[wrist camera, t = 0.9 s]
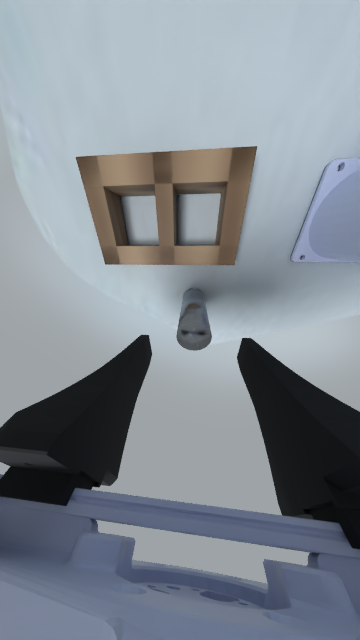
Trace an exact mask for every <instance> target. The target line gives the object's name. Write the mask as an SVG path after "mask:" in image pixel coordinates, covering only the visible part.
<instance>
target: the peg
mask: <svg viewBox="0 0 360 640" xmlns="http://www.w3.org/2000/svg"><path fill="white" fill-rule="evenodd" d="M211 338H212V335H211V330H210V325H209V320H208V315H207V310H206V305H205V300H204V296H203V293H202V292H201V291H200V290H198V289H189V290H187V291H186V292H185V293H184V296H183V301H182V307H181V313H180V319H179V325H178V331H177V341H178V343H179V344H180V345H181V346H182V347H184V348H186V349H188V350H200V349H203V348H205V347H206V346H207V345H209V343H210V342H211Z"/></svg>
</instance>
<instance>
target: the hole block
mask: <svg viewBox="0 0 360 640" xmlns="http://www.w3.org/2000/svg"><path fill="white" fill-rule="evenodd" d="M256 150H257V146H254V147H237V148H220V149H203V150H186V151H169V152H152V153H135V154H118V155H100V156H83V157H76V160H77V163H78V167H79V171H80V174H81V178H82V181H83V185H84V189H85V192H86V196H87V200H88V203H89V207H90V210H91V214H92V218H93V221H94V225H95V228H96V232H97V236H98V239H99V243H100V246H101V250H102V254H103V257H104V261H105V264H142V265H235V260H236V254H237V249H238V244H239V239H240V234H241V228H242V223H243V218H244V213H245V208H246V202H247V197H248V192H249V187H250V182H251V176H252V171H253V166H254V161H255V155H256ZM206 193H221V199H220V207H219V216H218V225H217V234H216V243H215V245H177V210H176V195H177V194H206ZM148 195H155V196H156V209H157V222H158V235H159V245H128V239H127V234H126V228H125V223H124V217H123V212H122V206H121V201H120V196H148Z"/></svg>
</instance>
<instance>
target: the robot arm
mask: <svg viewBox="0 0 360 640" xmlns="http://www.w3.org/2000/svg"><path fill="white" fill-rule="evenodd" d="M339 165H340V170H339V171H337V168H338V166H339ZM301 255H303V257H302V258H301V259H300V256H301ZM291 261H293V262H360V158H346V159H336V160H334V161H332V162H330V163H329V164H328V165H327V166H326V168H325V170H324V173H323V176H322V178H321V181H320V183H319V186H318V189H317V191H316V194H315V196H314V199H313V202H312V204H311V207H310V209H309V212H308V214H307V217H306V220H305V222H304V225H303V227H302V230H301V233H300V235H299V238H298V240H297V243H296V245H295V248H294V251H293V253H292V256H291ZM151 356H152V351H151V345H150V340H149V335H141V336H139V337H138V338H137V339H136V340H135V341H134V342H132V343H131V344H130V345H129V346H128V347H127V348H125V349H124V350H123V351H122V352H121V353H119V354H118V355H117V356H116V357H114V358H113V359H112V360H110V361H109V362H108V363H106V364H105V365H104V366H102V367H101V368H100V369H98V370H96V371H95V372H93V373H92V374H90V375H88V376H87V377H85V378H83V379H82V380H80V381H78V382H77V383H75V384H73V385H71V386H70V387H68V388H66V389H64V390H62V391H60V392H58V393H56V394H55V395H52V396H50V397H48V398H46V399H44V400H42V401H40V402H38V403H36V404H33V405H31V406H29V407H27V408H25V409H23V410H20V411H18V412H16V413H15V414H14V415H13V416H12V417H11V418H10V419H9V420H8V421H7V422H6V423H5V424H4V425H3V426H2V427H1V428H0V462H2V463H4V464H6V465H9V466H11V467H10V468H9V469H8V471H7V472H6V473H5V474H4V475H1V474H0V640H360V412H359V411H357V410H355V409H353V408H351V407H350V406H348V405H346V404H345V403H343V402H341V401H339V400H338V399H336V398H334V397H332V396H331V395H329V394H327V393H326V392H324V391H322V390H321V389H319V388H317V387H316V386H314V385H312V384H311V383H310V382H308V381H306V380H305V379H303V378H302V377H300V376H299V375H298V374H296V373H295V372H293V371H292V370H290V369H289V368H288V367H286V366H285V365H284V364H282V363H281V362H280V361H278V360H277V359H276V358H275V357H273V356H272V355H271V354H270V353H268V352H267V351H266V350H265V349H264V348H262V347H261V346H260V345H259V344H258V343H256V342H255V341H254V340H252V339H251V338H242V341H241V345H240V349H239V353H238V356H237V360H238V364H239V368H240V371H241V374H242V376H243V379H244V382H245V384H246V387H247V389H248V391H249V394H250V397H251V399H252V402H253V405H254V407H255V411H256V414H257V417H258V421H259V424H260V428H261V432H262V436H263V439H264V443H265V446H266V451H267V455H268V459H269V463H270V468H271V472H272V477H273V481H274V486H275V490H276V495H277V500H278V504H279V507H280V510H281V513H282V515H274V514H267V513H258V512H252V511H244V510H237V509H229V508H222V507H214V506H207V505H199V504H192V503H184V502H177V501H170V500H161V499H154V498H147V497H140V496H132V495H125V494H117V493H110V492H102V491H95V490H91V489H92V487H100V485H107V486H110V485H112V484H113V483H114V482H115V481H116V479H117V478H118V473H119V468H120V463H121V459H122V454H123V450H124V446H125V442H126V438H127V433H128V429H129V425H130V422H131V418H132V414H133V410H134V407H135V403H136V400H137V397H138V394H139V391H140V389H141V386H142V383H143V380H144V378H145V375H146V373H147V370H148V367H149V365H150V360H151ZM96 520H101V521H107V522H114V523H120V524H121V523H122V524H127V525H134V526H141V527H147V528H153V529H160V530H167V531H173V532H180V533H187V534H193V535H199V536H206V537H212V538H219V539H225V540H232V541H238V542H245V543H251V544H258V545H265V546H271V547H277V548H284V549H291V550H297V551H304V552H310V553H309V556H308V565H307V566H303V565H298V564H292V563H286V562H279V561H273V560H266V559H264V562H263V564H264V568H265V573H266V577H267V582H268V584H266V583H261V582H256V581H252V580H247V579H242V578H237V577H233V576H228V575H223V574H218V573H213V572H208V571H203V570H197V569H192V568H186V567H179V566H172V565H166V564H158V563H150V562H143V561H136V560H132V556H133V551H134V545H135V539H134V538H130V537H125V536H119V535H113V534H105V533H99V532H98V524H97V521H96Z"/></svg>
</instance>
